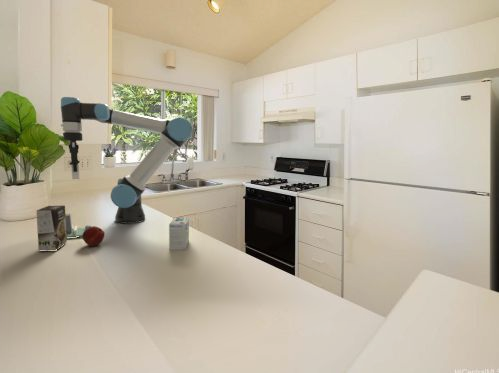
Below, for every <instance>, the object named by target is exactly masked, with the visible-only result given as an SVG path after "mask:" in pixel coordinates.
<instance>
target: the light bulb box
mask: <svg viewBox="0 0 499 373" xmlns="http://www.w3.org/2000/svg"><path fill="white" fill-rule="evenodd" d="M168 234H169V236H168V246H169V247H168V249H169V250H172V251H173V250H175V251H176V250H177V251H181V250H182V251H184V250H186V249H187V247H188V244H189V241H190V240H189V238H190V218H189V217H173V218H172V220H171V222H170V223H169V226H168Z"/></svg>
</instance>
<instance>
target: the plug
mask: <svg viewBox="0 0 499 373" xmlns="http://www.w3.org/2000/svg"><path fill="white" fill-rule="evenodd" d="M65 217H66V234H68V233H72V229H73V227H72V226H73V225H72V224H73V222H72V214H71V213H66V212H65Z"/></svg>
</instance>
